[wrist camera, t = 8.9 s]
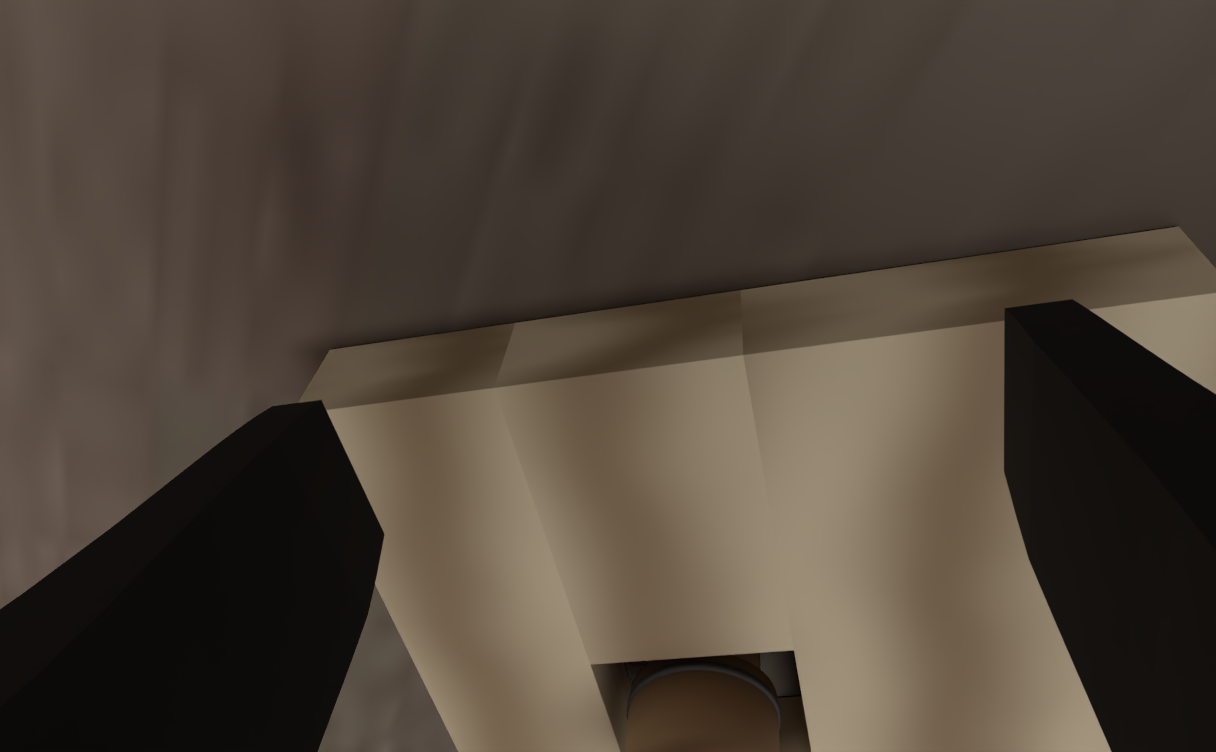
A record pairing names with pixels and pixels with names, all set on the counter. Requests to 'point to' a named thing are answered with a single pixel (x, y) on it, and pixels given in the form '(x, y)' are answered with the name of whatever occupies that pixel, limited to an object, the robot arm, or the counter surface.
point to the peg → (703, 706)
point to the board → (742, 499)
